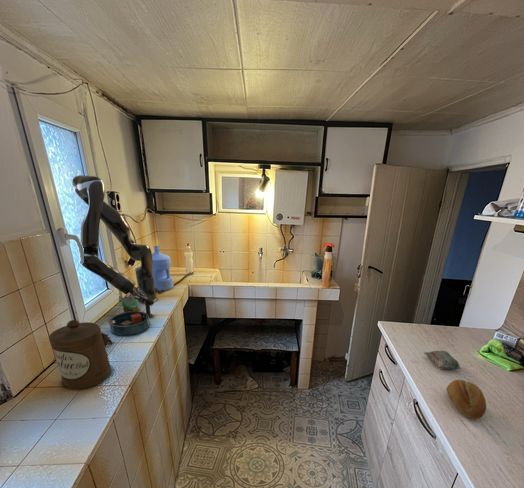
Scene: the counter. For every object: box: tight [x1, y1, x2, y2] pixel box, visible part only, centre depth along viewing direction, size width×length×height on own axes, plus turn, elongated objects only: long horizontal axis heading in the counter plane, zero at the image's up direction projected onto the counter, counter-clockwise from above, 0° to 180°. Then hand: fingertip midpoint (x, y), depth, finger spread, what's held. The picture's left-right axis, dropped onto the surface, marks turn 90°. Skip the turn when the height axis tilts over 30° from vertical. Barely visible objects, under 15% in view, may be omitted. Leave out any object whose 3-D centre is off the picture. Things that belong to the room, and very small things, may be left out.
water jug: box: [152, 245, 175, 292], centre depth 186 cm, size 16×16×28 cm
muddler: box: [144, 297, 154, 319], centre depth 146 cm, size 4×4×11 cm
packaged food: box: [423, 350, 462, 370], centre depth 113 cm, size 9×12×5 cm
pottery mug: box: [101, 331, 113, 348], centre depth 118 cm, size 12×10×8 cm
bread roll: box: [446, 379, 487, 420], centre depth 90 cm, size 10×15×8 cm, turn 168°
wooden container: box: [48, 319, 112, 390], centre depth 97 cm, size 15×15×22 cm
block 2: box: [131, 313, 143, 324], centre depth 139 cm, size 4×4×4 cm
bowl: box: [108, 310, 151, 336], centre depth 136 cm, size 18×18×5 cm
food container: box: [120, 293, 139, 313], centre depth 153 cm, size 12×6×10 cm, turn 179°
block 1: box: [120, 321, 134, 326], centre depth 132 cm, size 4×4×4 cm
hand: (152, 303), depth 146 cm, fingers closed on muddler, 2 cm apart
